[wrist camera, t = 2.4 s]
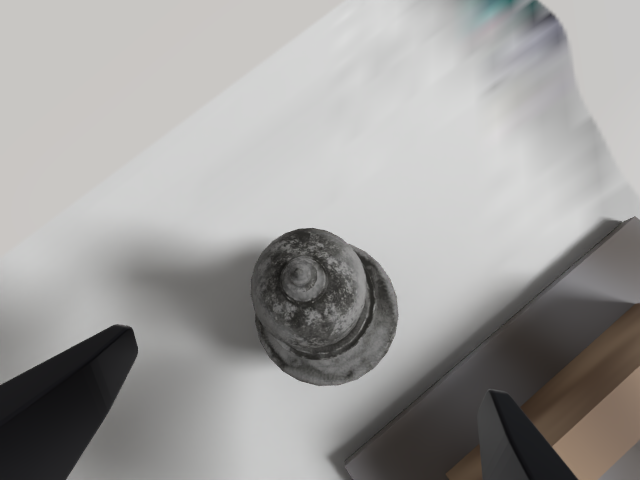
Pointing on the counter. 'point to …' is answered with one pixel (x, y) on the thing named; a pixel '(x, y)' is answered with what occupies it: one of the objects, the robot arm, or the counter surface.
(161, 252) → the counter surface
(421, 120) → the counter surface
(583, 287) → the end holder
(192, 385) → the counter surface
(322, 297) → the grey stone pawn figure
